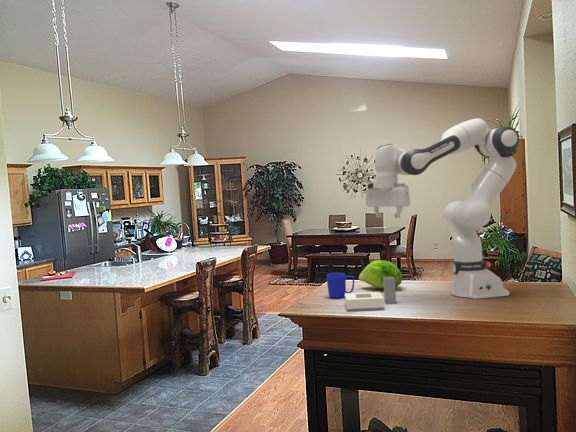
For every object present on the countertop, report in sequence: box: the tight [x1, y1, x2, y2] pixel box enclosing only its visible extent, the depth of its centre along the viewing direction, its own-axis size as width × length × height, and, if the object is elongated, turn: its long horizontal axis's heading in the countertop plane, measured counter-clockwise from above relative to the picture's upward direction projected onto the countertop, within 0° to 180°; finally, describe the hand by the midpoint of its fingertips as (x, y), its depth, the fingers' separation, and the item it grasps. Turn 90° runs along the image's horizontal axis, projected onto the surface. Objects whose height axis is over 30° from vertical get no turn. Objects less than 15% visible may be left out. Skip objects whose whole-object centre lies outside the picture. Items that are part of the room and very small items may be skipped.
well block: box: [344, 291, 385, 313], centre depth 200 cm, size 14×12×4 cm
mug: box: [325, 272, 355, 299], centre depth 220 cm, size 8×12×10 cm
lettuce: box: [358, 259, 403, 290], centre depth 232 cm, size 15×20×14 cm
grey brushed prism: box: [383, 277, 397, 305], centre depth 205 cm, size 4×5×10 cm
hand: (388, 217), depth 208 cm, fingers open, 8 cm apart
